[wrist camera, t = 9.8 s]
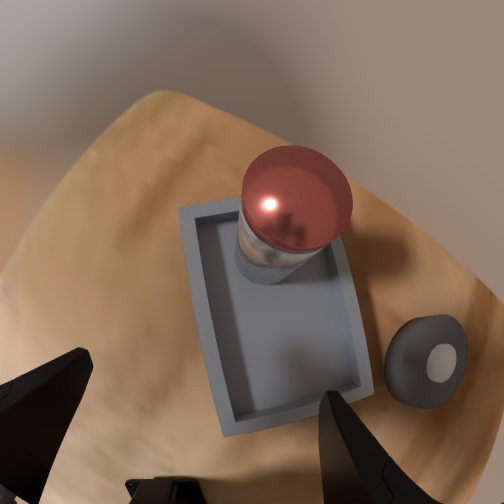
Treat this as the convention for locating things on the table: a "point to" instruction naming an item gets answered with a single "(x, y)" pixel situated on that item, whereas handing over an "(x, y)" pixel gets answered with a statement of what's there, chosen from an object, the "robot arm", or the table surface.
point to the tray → (272, 327)
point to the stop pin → (288, 212)
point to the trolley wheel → (426, 361)
